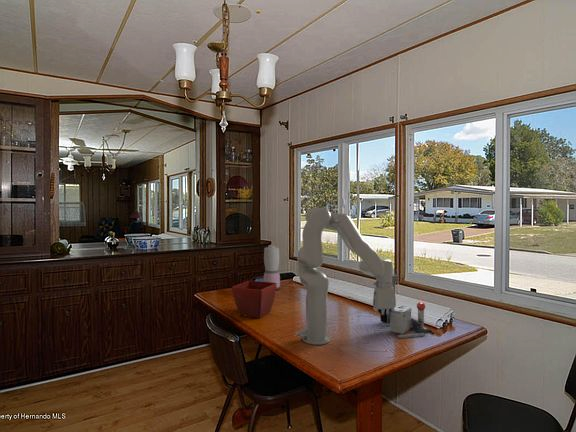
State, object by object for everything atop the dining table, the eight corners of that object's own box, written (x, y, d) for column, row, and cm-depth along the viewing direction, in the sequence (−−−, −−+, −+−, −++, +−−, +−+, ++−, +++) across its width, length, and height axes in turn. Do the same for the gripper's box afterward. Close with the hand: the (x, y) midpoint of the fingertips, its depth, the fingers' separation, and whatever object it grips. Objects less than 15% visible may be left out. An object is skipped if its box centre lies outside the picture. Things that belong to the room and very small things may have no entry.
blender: (275, 291, 252) (275, 247, 251) (260, 289, 257) (260, 246, 256) (284, 287, 266) (284, 245, 265) (270, 285, 271) (270, 244, 270)
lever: (420, 331, 169) (420, 303, 169) (414, 327, 174) (414, 301, 174) (427, 330, 170) (427, 303, 170) (421, 327, 175) (421, 300, 175)
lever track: (423, 335, 165) (423, 332, 165) (402, 321, 184) (402, 319, 184) (434, 334, 166) (434, 331, 166) (412, 321, 185) (412, 318, 185)
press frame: (398, 338, 161) (398, 284, 160) (375, 321, 185) (375, 274, 184) (425, 336, 163) (425, 283, 163) (399, 319, 187) (399, 273, 187)
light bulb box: (398, 325, 178) (398, 304, 178) (411, 328, 174) (411, 306, 174) (389, 331, 170) (389, 309, 170) (403, 334, 166) (403, 311, 165)
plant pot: (231, 316, 194) (230, 286, 193) (249, 307, 211) (249, 280, 210) (261, 321, 185) (261, 290, 185) (277, 311, 203) (277, 282, 202)
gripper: (372, 286, 164) (372, 325, 164) (402, 285, 167) (402, 323, 167) (366, 283, 171) (366, 320, 172) (394, 282, 174) (394, 318, 175)
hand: (383, 322), depth 170 cm, fingers closed
